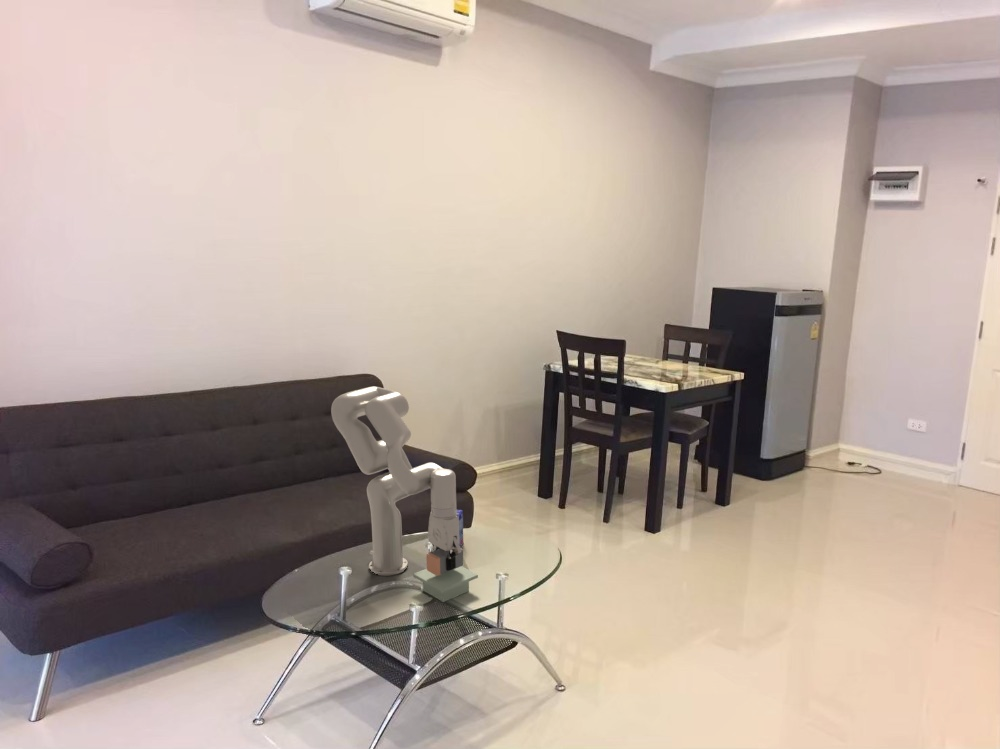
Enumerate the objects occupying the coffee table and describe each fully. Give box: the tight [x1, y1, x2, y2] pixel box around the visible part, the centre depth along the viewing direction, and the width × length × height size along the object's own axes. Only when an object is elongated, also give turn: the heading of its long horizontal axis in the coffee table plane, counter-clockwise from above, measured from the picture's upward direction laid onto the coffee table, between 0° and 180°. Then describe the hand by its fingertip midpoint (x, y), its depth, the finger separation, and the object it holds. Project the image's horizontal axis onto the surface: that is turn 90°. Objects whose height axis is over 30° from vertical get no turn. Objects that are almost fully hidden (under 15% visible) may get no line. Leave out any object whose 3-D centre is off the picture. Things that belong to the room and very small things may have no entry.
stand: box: [413, 566, 479, 603], centre depth 246 cm, size 14×14×6 cm
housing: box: [426, 547, 464, 576], centre depth 245 cm, size 10×5×6 cm, turn 132°
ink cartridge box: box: [456, 509, 464, 548], centre depth 277 cm, size 10×6×14 cm, turn 78°
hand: (445, 565), depth 245 cm, fingers closed on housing, 4 cm apart
